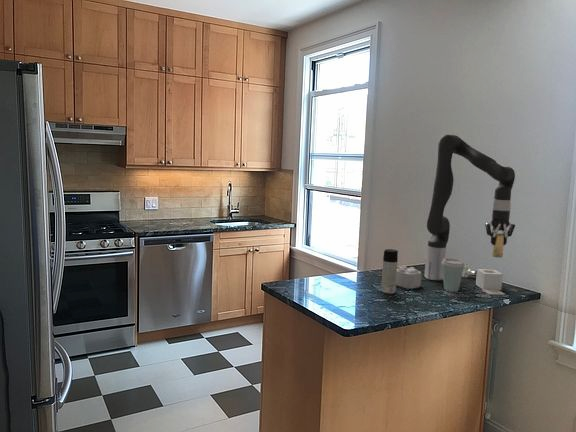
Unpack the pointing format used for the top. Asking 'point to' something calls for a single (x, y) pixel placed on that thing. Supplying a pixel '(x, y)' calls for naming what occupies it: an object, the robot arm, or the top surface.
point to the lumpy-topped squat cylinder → (408, 277)
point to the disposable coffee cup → (452, 273)
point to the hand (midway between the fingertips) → (498, 244)
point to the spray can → (389, 271)
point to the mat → (494, 292)
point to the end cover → (498, 245)
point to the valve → (468, 271)
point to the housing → (489, 279)
